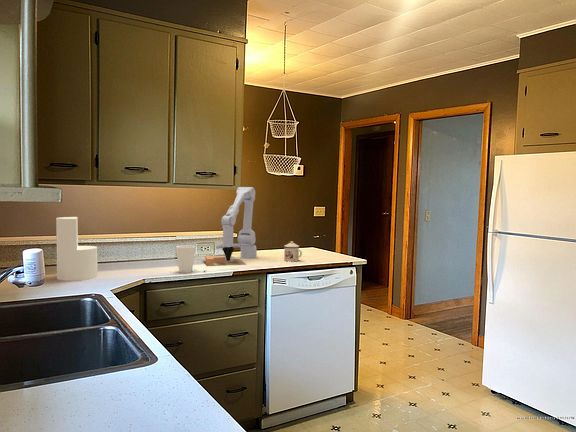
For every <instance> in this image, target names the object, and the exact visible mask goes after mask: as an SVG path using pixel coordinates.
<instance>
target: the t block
mask: <svg viewBox="0 0 576 432" xmlns="http://www.w3.org/2000/svg"><path fill="white" fill-rule="evenodd" d="M204 261H206V263H207V265H208V264H214V263H226V257H225V256H212V255H205V257H204Z"/></svg>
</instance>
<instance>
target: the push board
mask: <svg viewBox="0 0 576 432" xmlns="http://www.w3.org/2000/svg"><path fill="white" fill-rule="evenodd" d="M201 262H202V263H203V264H204V265H205V266H206V267H221V266H222V267H223V266H245V265H246V266H247V263H245V262H243V261H242V260H241V259H239V258H235V259H230V261H226V263H214V264H208V265H207V263H206V261H205V260H201Z"/></svg>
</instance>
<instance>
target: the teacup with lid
mask: <svg viewBox="0 0 576 432" xmlns="http://www.w3.org/2000/svg"><path fill="white" fill-rule="evenodd" d="M283 247H284V255H283V256H284V258H283V259H284V262H288V261H296V262H299V261H300V260H299V259H300V258H301V257H302V255H303V251H302V250H301V249H300V245H298V244H296V243H294V241H289V242H288V243H287V244H285V245H283Z"/></svg>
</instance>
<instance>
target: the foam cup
mask: <svg viewBox="0 0 576 432" xmlns="http://www.w3.org/2000/svg"><path fill="white" fill-rule="evenodd" d="M175 252H176V258H177V264H178V265H177V266H178V272H179V273H180V272H181V274H189V273H190V274H191V273H192V272H193V267H194V261H195V260H194V259H195V258H194V257H195V252H196V245H191V244H190V245H189V244H188V245H187V244H186V245H176V246H175Z"/></svg>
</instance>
